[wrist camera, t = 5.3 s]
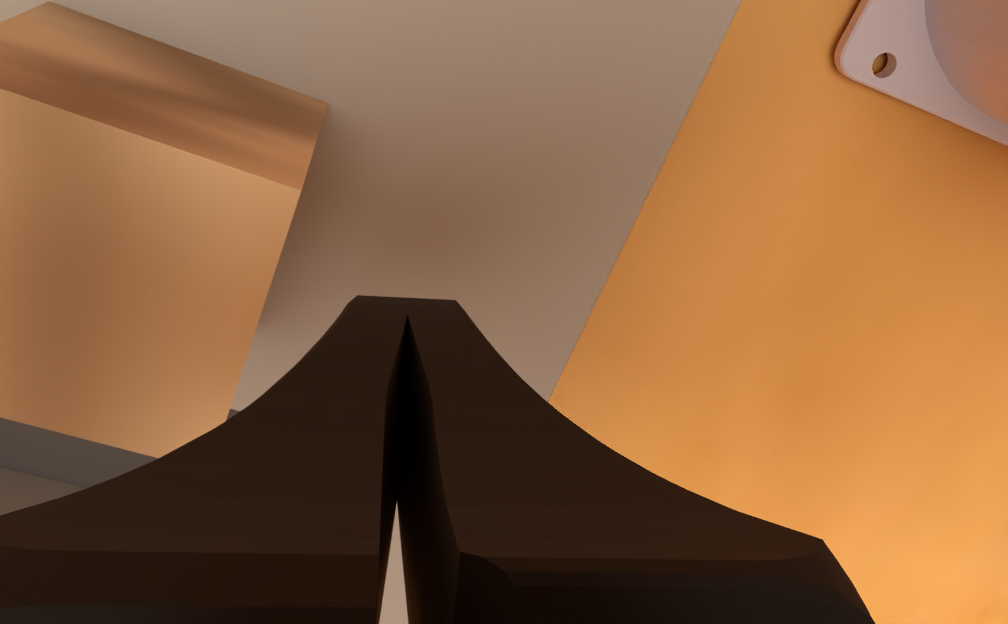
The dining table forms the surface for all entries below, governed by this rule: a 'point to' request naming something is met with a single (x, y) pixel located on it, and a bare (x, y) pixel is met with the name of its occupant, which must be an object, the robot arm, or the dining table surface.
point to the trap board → (431, 174)
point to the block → (135, 227)
